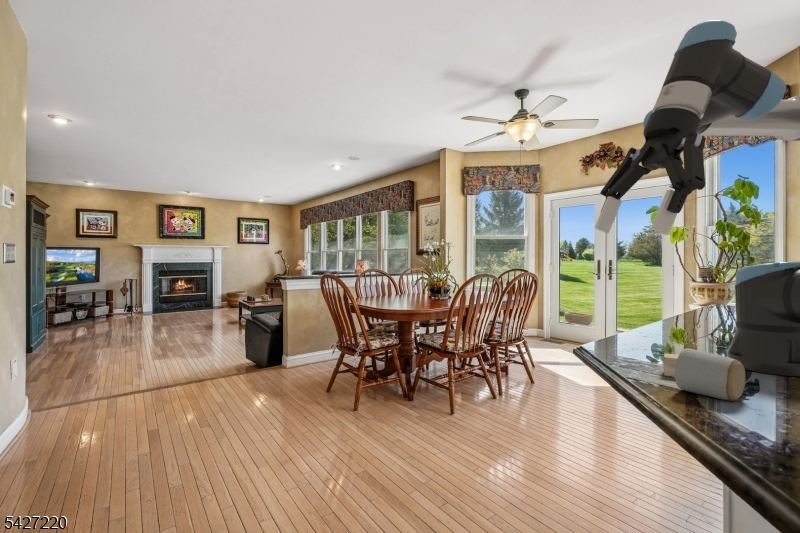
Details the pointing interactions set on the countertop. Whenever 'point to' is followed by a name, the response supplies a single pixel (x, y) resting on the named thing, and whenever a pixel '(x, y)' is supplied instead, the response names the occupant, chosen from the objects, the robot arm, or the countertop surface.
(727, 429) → the countertop surface
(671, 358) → the birch block
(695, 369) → the ceramic mug
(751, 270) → the robot arm
